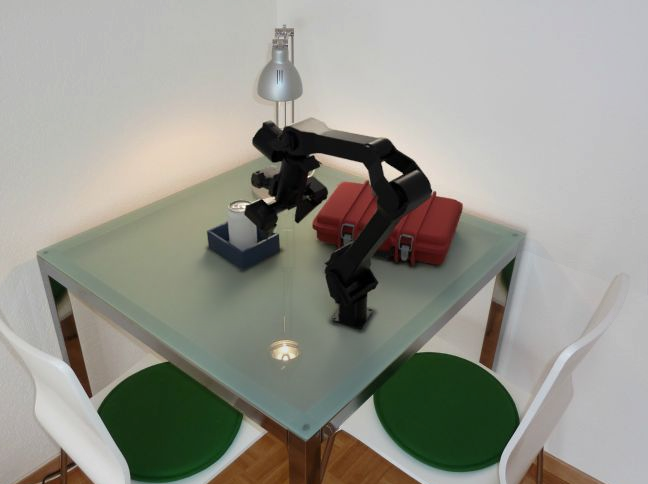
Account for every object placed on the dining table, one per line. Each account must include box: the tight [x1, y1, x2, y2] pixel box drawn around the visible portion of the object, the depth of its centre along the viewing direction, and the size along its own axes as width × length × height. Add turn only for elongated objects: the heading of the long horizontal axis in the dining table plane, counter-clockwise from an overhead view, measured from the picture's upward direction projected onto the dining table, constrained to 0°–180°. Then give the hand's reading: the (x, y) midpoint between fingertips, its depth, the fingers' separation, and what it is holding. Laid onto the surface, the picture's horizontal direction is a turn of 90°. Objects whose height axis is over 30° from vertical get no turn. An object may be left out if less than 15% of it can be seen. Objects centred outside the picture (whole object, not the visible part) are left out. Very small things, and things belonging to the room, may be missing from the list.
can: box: [226, 199, 258, 251], centre depth 147 cm, size 6×6×12 cm
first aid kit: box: [312, 179, 464, 267], centre depth 152 cm, size 32×23×9 cm
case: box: [206, 220, 281, 271], centre depth 149 cm, size 13×11×5 cm
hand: (281, 230), depth 136 cm, fingers open, 9 cm apart
